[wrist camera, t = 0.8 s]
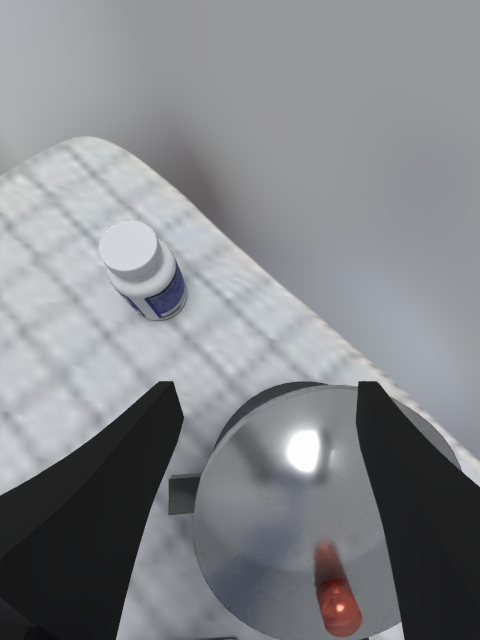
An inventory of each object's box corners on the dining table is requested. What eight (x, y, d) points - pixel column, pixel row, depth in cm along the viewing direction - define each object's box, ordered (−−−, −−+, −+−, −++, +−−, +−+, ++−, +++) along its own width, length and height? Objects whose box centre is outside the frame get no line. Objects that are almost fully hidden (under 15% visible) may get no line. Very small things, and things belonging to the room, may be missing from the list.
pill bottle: (189, 272, 29) (171, 213, 21) (185, 322, 27) (163, 281, 19) (136, 270, 29) (96, 210, 21) (128, 320, 27) (81, 278, 19)
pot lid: (450, 621, 16) (481, 667, 14) (204, 645, 16) (200, 696, 14) (461, 376, 14) (498, 390, 13) (184, 394, 14) (177, 412, 12)
